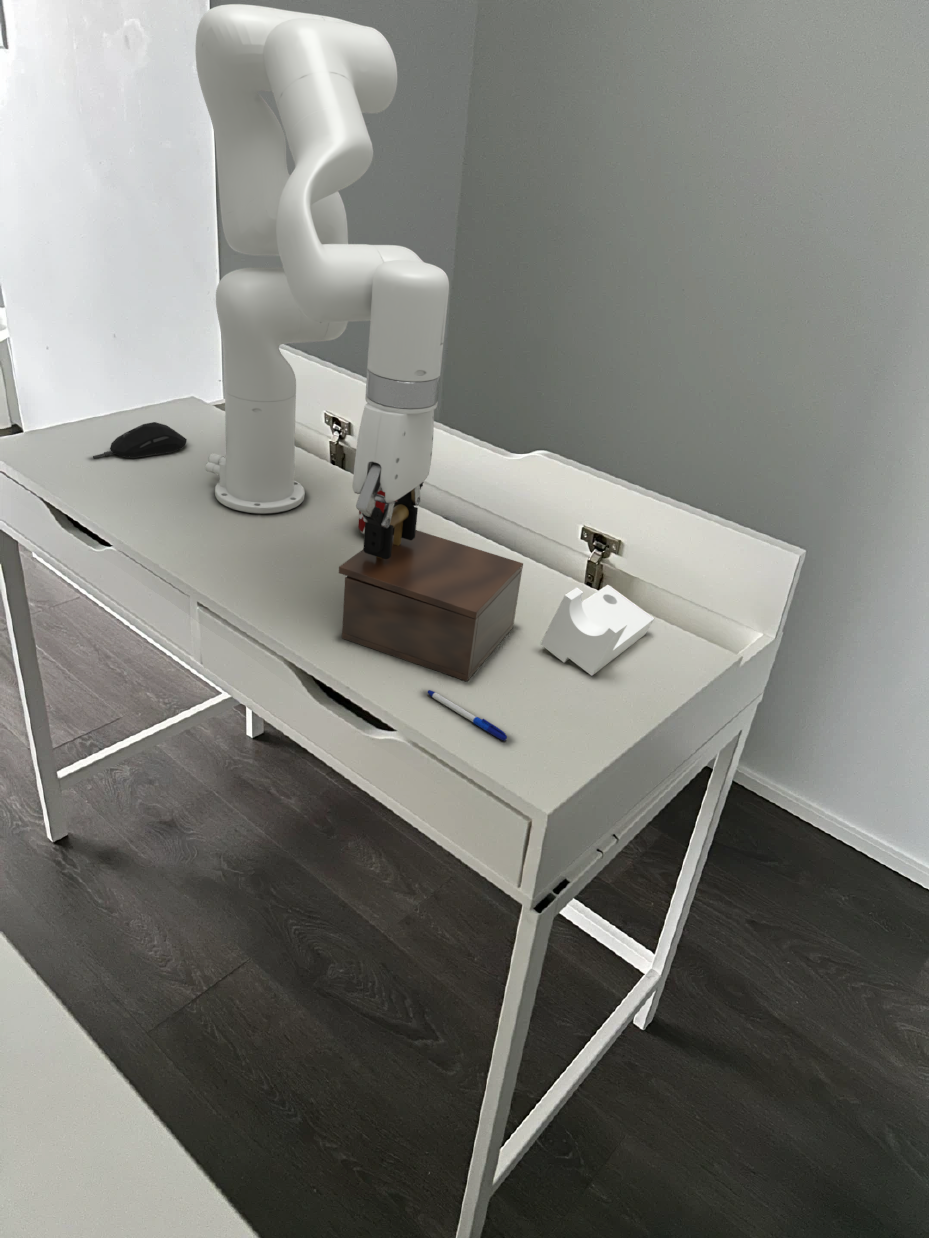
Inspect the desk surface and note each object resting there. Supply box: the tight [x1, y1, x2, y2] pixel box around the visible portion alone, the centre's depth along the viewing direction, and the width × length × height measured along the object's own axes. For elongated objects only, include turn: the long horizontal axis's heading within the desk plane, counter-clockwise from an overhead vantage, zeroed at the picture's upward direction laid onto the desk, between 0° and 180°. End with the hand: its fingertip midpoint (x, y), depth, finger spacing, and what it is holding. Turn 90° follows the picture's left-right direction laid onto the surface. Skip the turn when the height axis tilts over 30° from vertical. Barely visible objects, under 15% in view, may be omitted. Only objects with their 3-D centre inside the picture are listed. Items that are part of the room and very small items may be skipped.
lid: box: [338, 504, 524, 619], centre depth 107 cm, size 16×14×6 cm
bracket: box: [540, 584, 655, 676], centre depth 112 cm, size 13×7×8 cm, turn 143°
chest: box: [341, 569, 523, 682], centre depth 110 cm, size 16×14×8 cm
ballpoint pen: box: [427, 689, 508, 741], centre depth 98 cm, size 10×1×1 cm, turn 50°
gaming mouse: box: [92, 421, 188, 459], centre depth 148 cm, size 6×15×4 cm, turn 132°
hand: (389, 544), depth 109 cm, fingers closed on lid, 5 cm apart
